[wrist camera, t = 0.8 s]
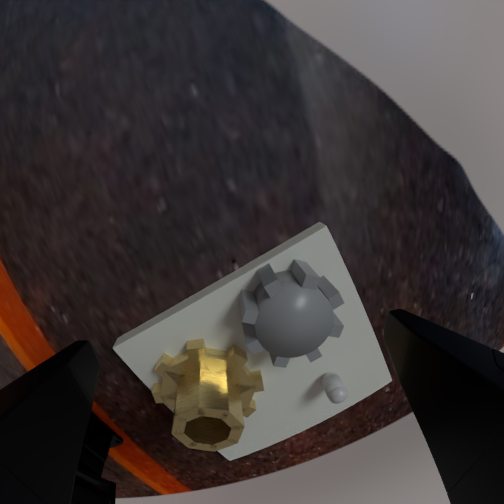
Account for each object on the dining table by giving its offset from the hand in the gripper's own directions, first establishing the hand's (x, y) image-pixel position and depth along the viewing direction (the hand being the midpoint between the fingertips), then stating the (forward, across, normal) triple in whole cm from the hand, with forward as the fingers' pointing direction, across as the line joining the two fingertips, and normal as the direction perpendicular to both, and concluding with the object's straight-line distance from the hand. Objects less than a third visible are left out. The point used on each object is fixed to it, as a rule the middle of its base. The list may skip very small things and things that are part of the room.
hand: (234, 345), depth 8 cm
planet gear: (+11, +4, +12) cm, 17 cm away
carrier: (+12, -1, +12) cm, 17 cm away
